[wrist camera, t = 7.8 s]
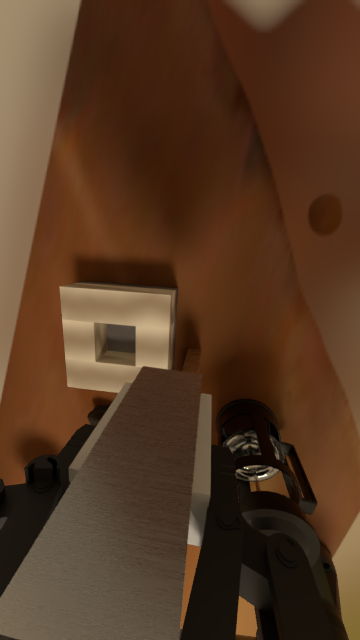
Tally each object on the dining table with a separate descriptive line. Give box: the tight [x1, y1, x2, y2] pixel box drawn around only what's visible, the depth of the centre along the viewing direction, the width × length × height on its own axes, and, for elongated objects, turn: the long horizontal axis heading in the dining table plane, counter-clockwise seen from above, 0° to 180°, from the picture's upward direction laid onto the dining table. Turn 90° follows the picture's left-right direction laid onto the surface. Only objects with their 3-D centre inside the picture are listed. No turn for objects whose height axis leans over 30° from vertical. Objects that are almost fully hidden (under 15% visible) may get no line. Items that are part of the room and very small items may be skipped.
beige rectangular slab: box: [182, 348, 201, 374], centre depth 33 cm, size 8×2×10 cm, turn 177°
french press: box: [216, 399, 320, 640], centre depth 28 cm, size 12×9×23 cm
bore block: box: [60, 281, 178, 393], centre depth 34 cm, size 14×14×6 cm
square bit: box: [0, 366, 202, 640], centre depth 11 cm, size 4×4×12 cm
